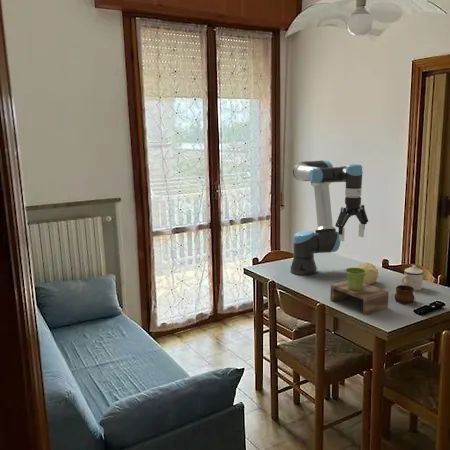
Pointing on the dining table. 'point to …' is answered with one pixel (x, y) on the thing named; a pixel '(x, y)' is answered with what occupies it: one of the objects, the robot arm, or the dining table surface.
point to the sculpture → (369, 273)
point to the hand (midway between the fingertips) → (351, 238)
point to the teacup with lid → (413, 277)
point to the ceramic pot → (404, 294)
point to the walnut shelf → (362, 296)
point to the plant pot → (355, 278)
